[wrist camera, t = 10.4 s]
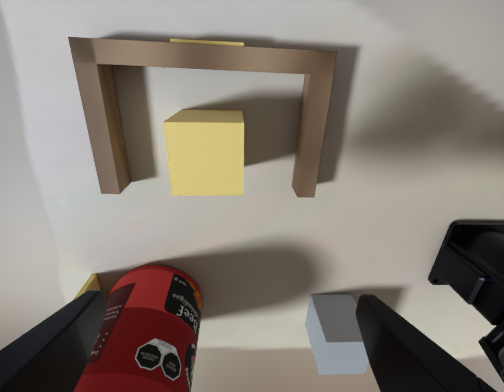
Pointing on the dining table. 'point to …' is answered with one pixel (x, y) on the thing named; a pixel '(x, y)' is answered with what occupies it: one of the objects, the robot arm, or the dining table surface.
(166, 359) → the canned food
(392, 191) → the dining table surface
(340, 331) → the grey block
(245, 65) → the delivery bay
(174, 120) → the ochre block
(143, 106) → the dining table surface
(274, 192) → the dining table surface
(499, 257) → the robot arm
